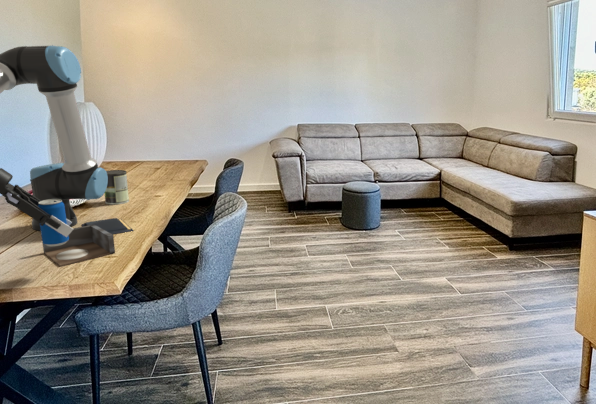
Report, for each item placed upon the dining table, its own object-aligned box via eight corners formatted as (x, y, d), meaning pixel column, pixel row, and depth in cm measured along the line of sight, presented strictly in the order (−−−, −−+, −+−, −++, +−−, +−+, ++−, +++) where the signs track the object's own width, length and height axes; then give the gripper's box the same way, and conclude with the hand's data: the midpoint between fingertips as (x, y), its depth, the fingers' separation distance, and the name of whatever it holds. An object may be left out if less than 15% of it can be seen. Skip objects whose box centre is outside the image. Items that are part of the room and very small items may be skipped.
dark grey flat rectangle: (80, 221, 170) (122, 215, 178) (81, 226, 171) (123, 220, 179) (88, 235, 154) (134, 228, 162) (88, 240, 154) (134, 233, 162)
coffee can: (104, 205, 199) (100, 174, 195) (106, 200, 208) (103, 170, 205) (128, 203, 202) (125, 173, 198) (129, 198, 211) (127, 169, 208)
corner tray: (43, 252, 140) (41, 234, 139) (96, 241, 151) (93, 224, 150) (60, 266, 129) (57, 247, 128) (115, 253, 140) (113, 234, 139)
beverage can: (73, 239, 127) (67, 198, 124) (62, 247, 121) (56, 204, 118) (50, 239, 127) (44, 198, 124) (38, 247, 120) (31, 204, 117)
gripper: (-18, 182, 120) (58, 230, 132) (-28, 197, 104) (61, 250, 116) (2, 161, 121) (76, 210, 133) (-5, 173, 105) (81, 228, 117)
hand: (69, 229), depth 124 cm, fingers closed on beverage can, 6 cm apart
